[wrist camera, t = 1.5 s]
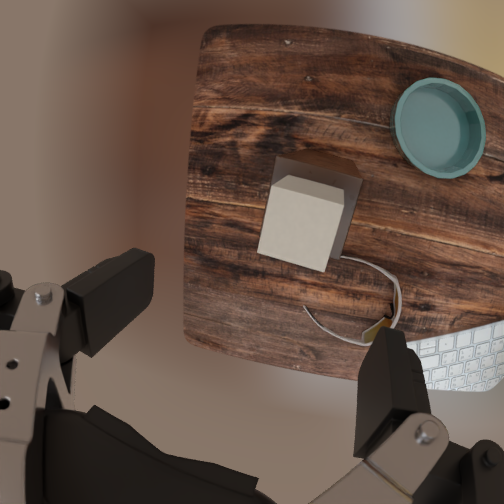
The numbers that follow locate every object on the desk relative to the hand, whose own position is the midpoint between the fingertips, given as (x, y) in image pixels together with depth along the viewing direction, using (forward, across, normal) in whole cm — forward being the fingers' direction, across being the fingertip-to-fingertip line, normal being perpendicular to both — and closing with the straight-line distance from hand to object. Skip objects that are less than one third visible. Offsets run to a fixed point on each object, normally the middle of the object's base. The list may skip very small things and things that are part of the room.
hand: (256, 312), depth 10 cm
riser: (+38, 0, 0) cm, 38 cm away
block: (+16, 0, 0) cm, 16 cm away
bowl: (+38, -14, -12) cm, 42 cm away
